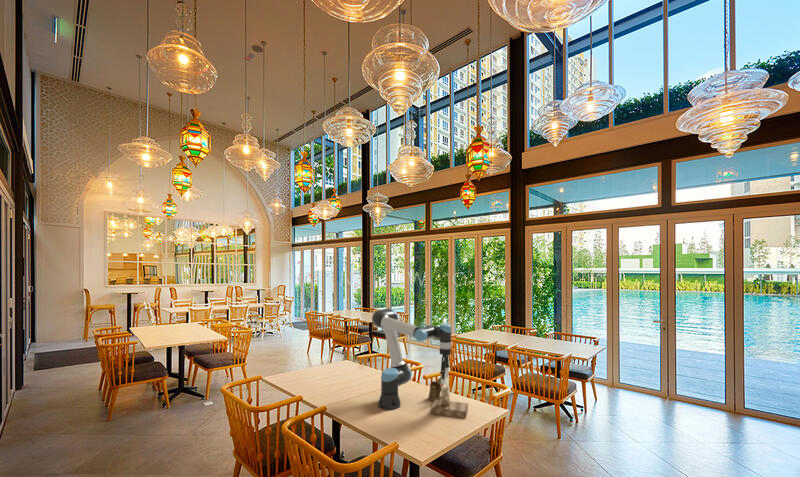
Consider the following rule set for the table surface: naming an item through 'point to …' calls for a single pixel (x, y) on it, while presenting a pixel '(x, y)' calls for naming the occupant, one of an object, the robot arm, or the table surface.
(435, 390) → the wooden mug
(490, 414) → the table surface
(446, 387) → the dowel
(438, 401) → the board
